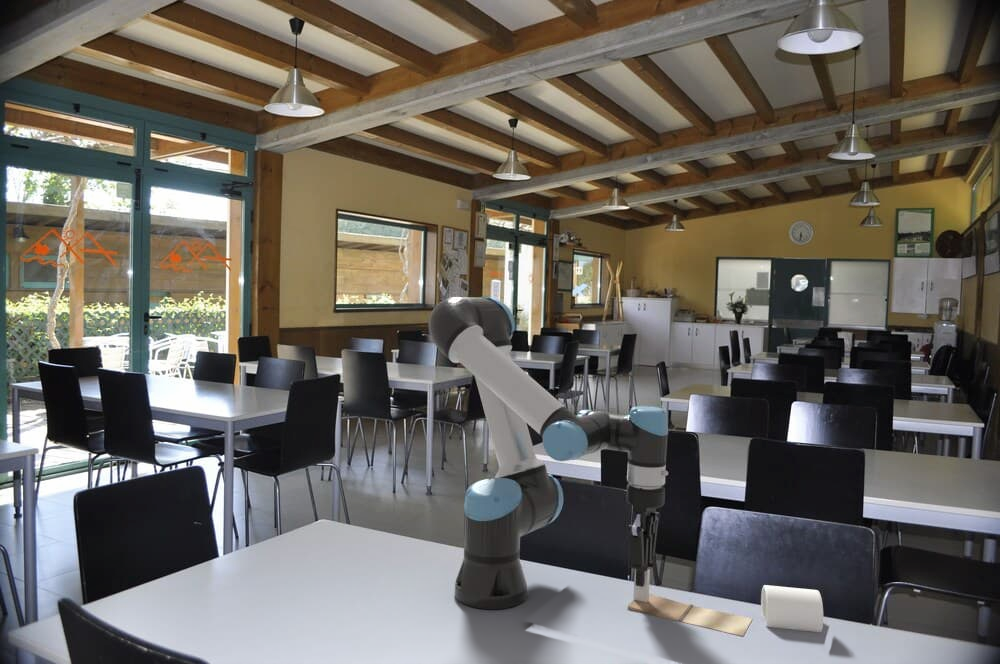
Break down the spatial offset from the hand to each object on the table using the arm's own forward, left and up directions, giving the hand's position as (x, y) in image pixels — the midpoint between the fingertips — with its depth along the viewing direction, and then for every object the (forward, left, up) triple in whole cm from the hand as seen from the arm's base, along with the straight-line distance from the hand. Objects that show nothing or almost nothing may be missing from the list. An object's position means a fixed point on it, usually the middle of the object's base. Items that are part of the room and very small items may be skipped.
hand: (641, 599), depth 151 cm
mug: (+27, +9, -2) cm, 28 cm away
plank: (+4, 0, -2) cm, 4 cm away
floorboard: (+15, 0, -2) cm, 15 cm away
